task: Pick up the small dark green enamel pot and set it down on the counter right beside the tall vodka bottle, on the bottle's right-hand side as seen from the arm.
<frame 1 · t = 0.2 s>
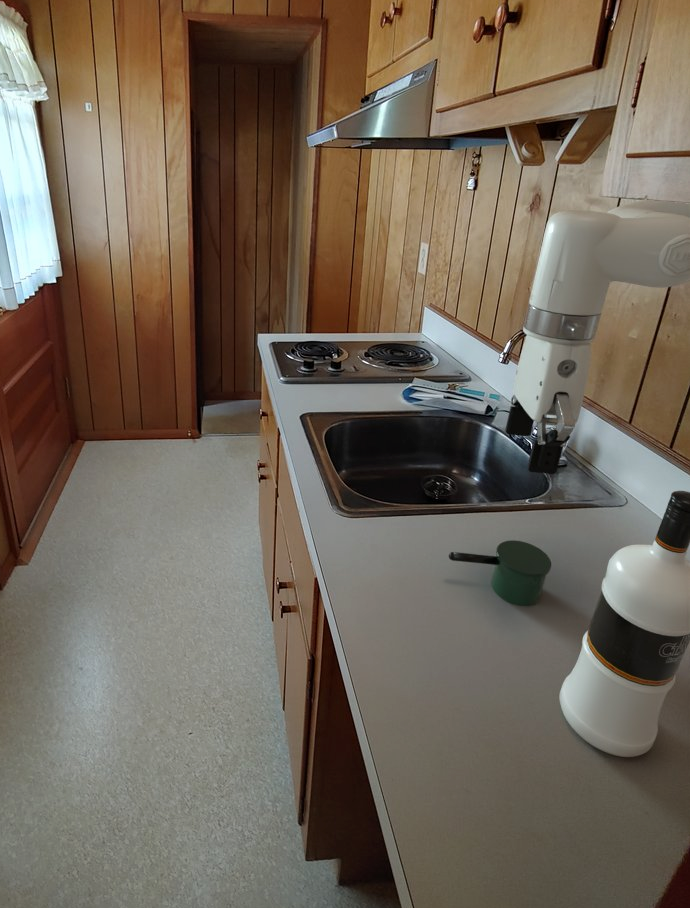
hand: (528, 451, 71), 23 cm above the worktop, tool pointing down, fingers open, 9 cm apart
pot: (515, 589, 81), on the worktop
vodka: (602, 721, 62), on the worktop
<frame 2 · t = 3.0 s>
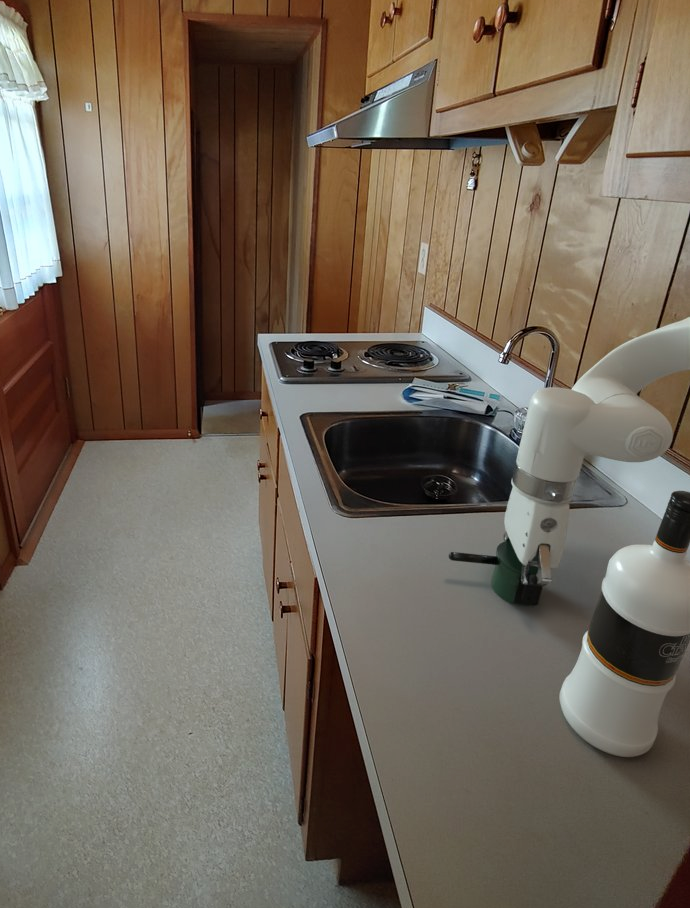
hand: (516, 582, 80), 1 cm above the worktop, tool pointing down, fingers closed on pot, 7 cm apart
pot: (515, 589, 81), on the worktop, touching gripper
everything else where it was.
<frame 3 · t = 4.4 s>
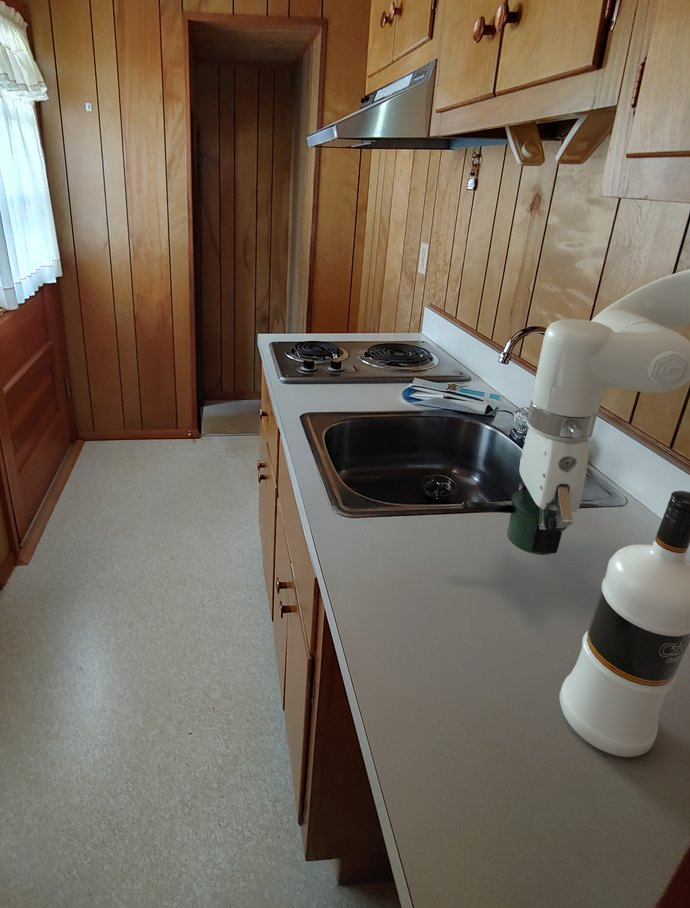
hand: (534, 532, 76), 10 cm above the worktop, tool pointing down, fingers closed on pot, 7 cm apart
pot: (532, 539, 77), point 9 cm above the worktop, touching gripper
everything else where it was.
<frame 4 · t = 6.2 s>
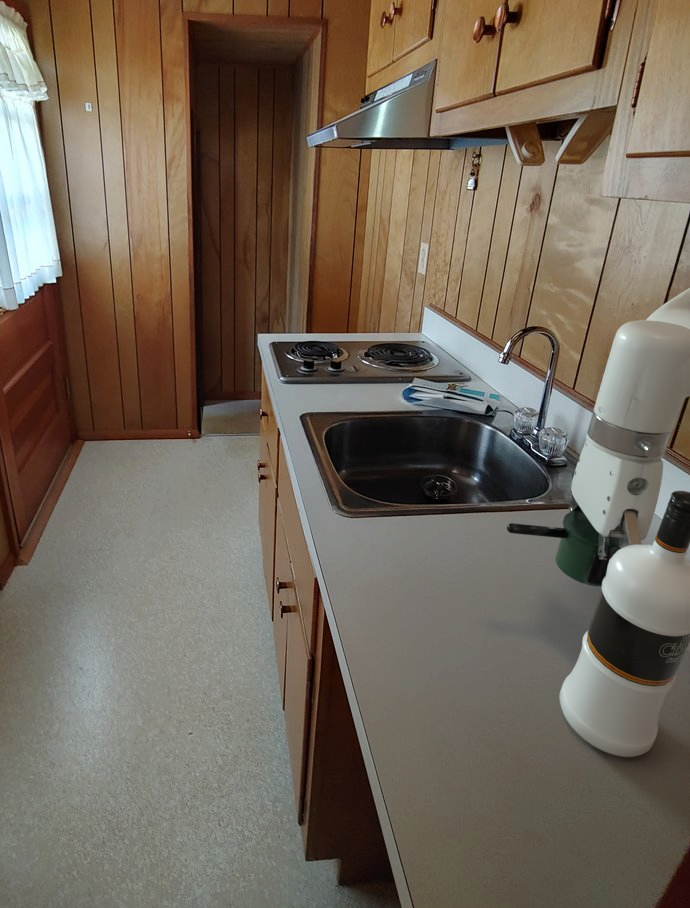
hand: (587, 559, 68), 13 cm above the worktop, tool pointing down, fingers closed on pot, 7 cm apart
pot: (584, 567, 68), point 11 cm above the worktop, touching gripper
everything else where it was.
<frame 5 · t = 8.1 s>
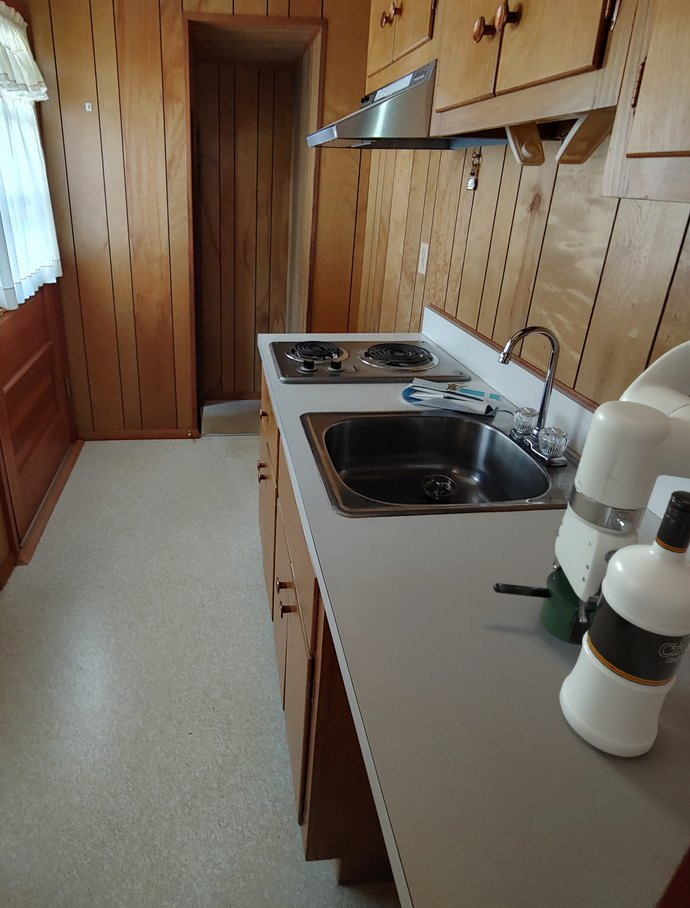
hand: (569, 617, 72), 3 cm above the worktop, tool pointing down, fingers closed on pot, 7 cm apart
pot: (567, 624, 72), point 2 cm above the worktop, touching gripper
everything else where it was.
when the fingers open (1 cm above the worktop, at t = 9.3 s): pot stays where it is, on the worktop.
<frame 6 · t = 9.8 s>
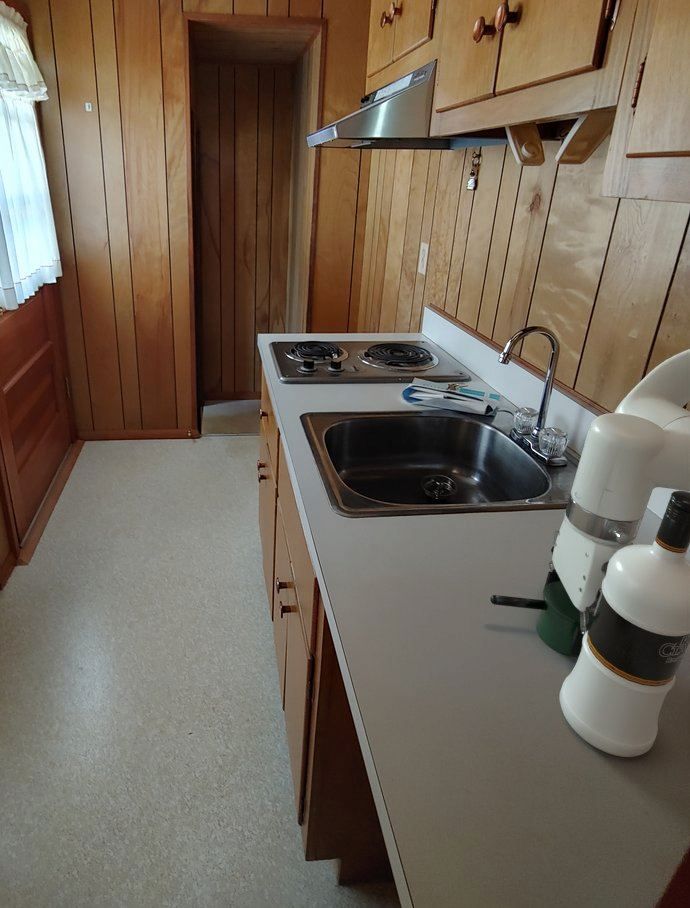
hand: (568, 623, 72), 2 cm above the worktop, tool pointing down, fingers open, 9 cm apart
pot: (563, 635, 73), on the worktop
everything else where it was.
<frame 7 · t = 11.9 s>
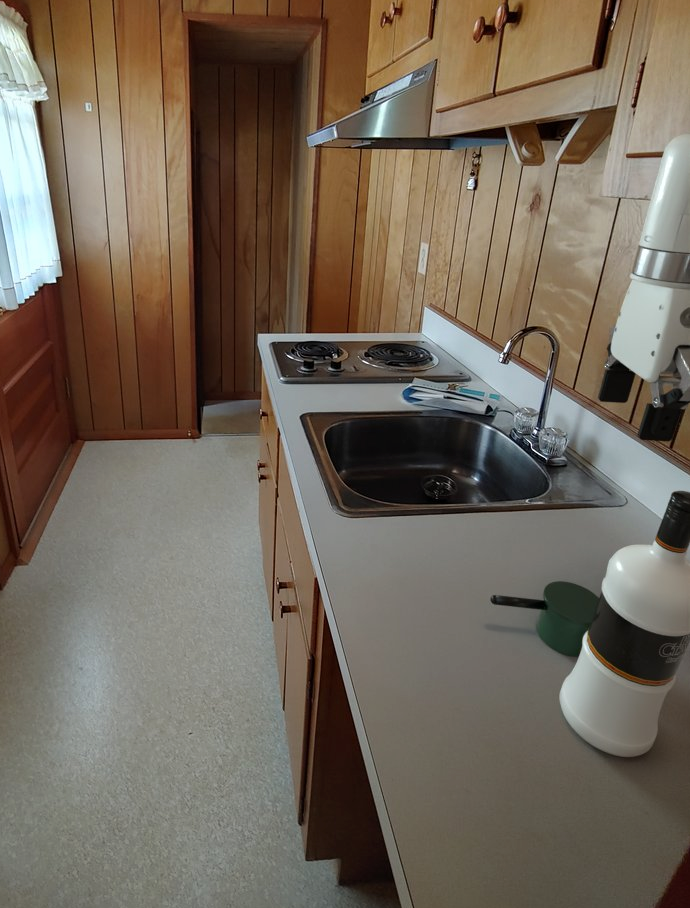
hand: (631, 419, 62), 31 cm above the worktop, tool pointing down, fingers open, 9 cm apart
nothing on the worktop moved.
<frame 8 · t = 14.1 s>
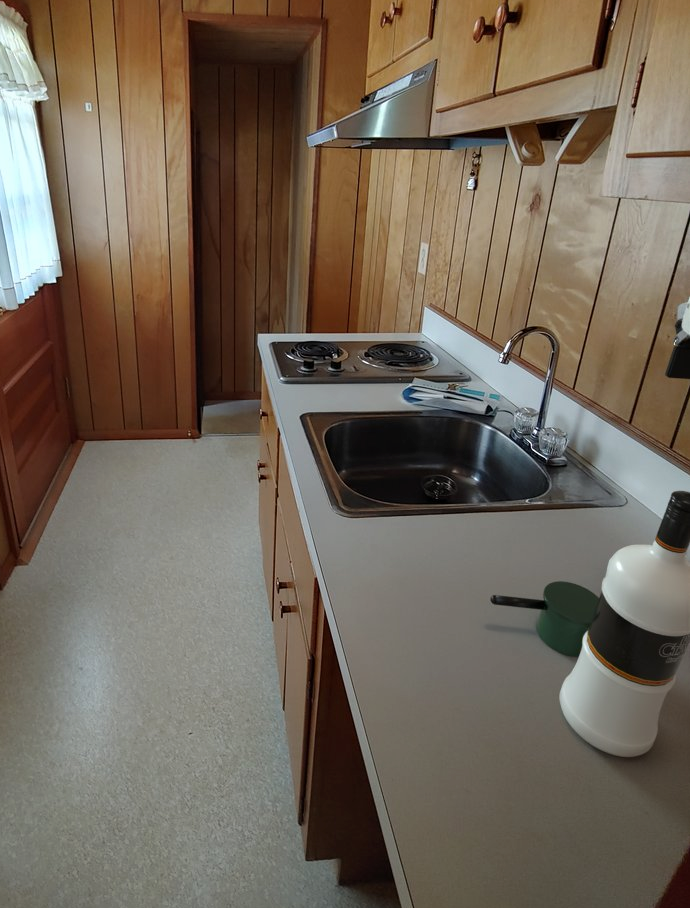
nothing on the worktop moved.
at the end: pot 0.0 cm from the target spot, on the worktop; pot 12.0 cm from the vodka (horizontally); pot tilted 0° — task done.
